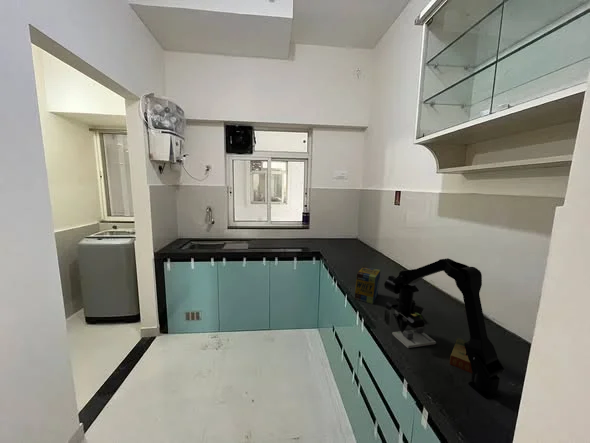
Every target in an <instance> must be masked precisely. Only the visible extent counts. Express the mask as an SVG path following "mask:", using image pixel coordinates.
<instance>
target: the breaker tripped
mask: <svg viewBox="0 0 590 443" xmlns="http://www.w3.org/2000/svg"><path fill="white" fill-rule="evenodd" d="M411 330H412V329H405V330H404V335H403V336H404V337H406V338H407V339H413V334H414V333H413V332H412V331H411Z"/></svg>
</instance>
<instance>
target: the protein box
mask: <svg viewBox="0 0 590 443" xmlns="http://www.w3.org/2000/svg"><path fill="white" fill-rule="evenodd" d="M380 277H381V269H376V268H372V267H367V266H363V267H362V268H361V269H360V270H358V272H357V273H356V280H355V289H354V300H357V301H360V302H364V303H367V304H372V305H373V304H374V302H375V300H376V298H377V297H378V295H379V287H380V286H379V285H380Z"/></svg>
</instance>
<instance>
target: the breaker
mask: <svg viewBox="0 0 590 443" xmlns="http://www.w3.org/2000/svg"><path fill="white" fill-rule="evenodd" d="M424 328H425V326H424V327H418V328H413V329H412V330H415V331H416V332H417V333H425V332H424Z"/></svg>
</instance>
